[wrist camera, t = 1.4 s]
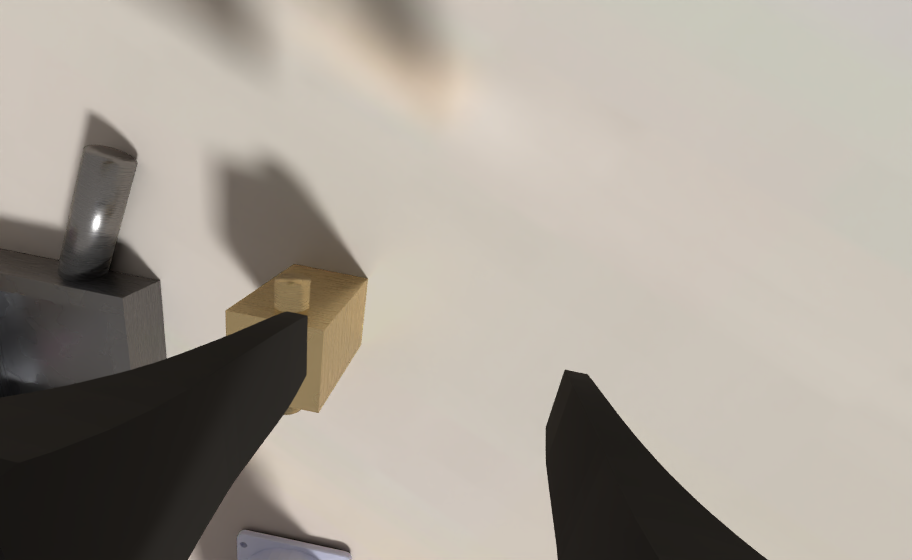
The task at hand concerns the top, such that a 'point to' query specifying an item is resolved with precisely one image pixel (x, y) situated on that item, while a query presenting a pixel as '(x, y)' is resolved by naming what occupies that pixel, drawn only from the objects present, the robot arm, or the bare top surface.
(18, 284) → the grey square tray
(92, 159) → the steel shaft
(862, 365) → the top surface
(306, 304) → the brass block with pegs
